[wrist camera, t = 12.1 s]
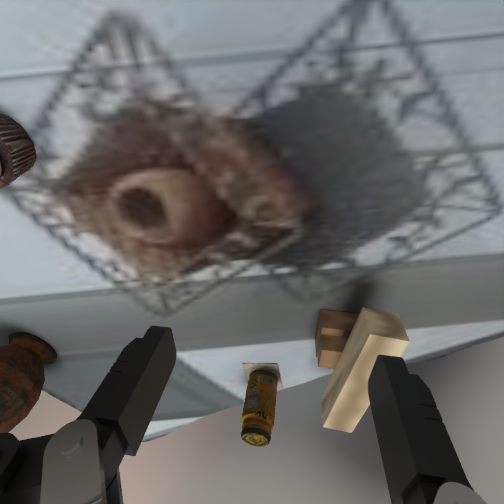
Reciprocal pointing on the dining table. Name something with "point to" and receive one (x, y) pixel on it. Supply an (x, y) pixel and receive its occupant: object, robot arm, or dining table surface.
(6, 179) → the cupcake
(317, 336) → the stair steps
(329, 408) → the batten
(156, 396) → the robot arm
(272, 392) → the condiment
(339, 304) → the dining table surface
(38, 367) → the pitcher
